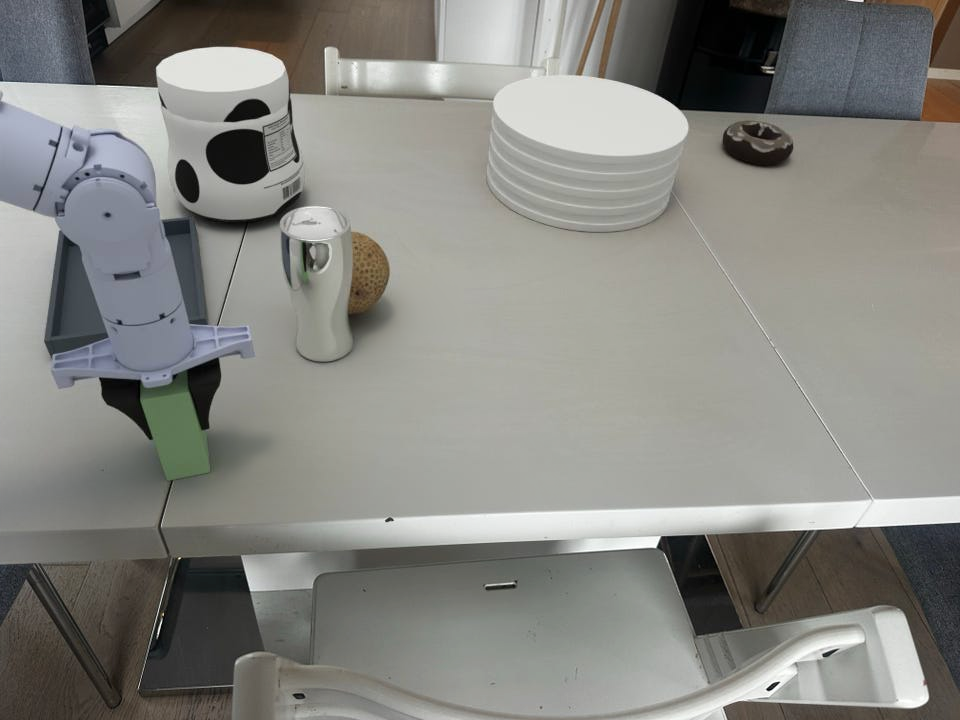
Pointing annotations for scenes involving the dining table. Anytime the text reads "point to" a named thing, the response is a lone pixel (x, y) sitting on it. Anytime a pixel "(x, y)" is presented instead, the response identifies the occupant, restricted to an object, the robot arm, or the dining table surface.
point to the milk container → (230, 133)
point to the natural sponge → (367, 273)
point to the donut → (757, 142)
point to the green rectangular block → (176, 428)
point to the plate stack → (584, 152)
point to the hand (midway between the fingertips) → (178, 426)
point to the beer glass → (319, 279)
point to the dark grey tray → (75, 303)
